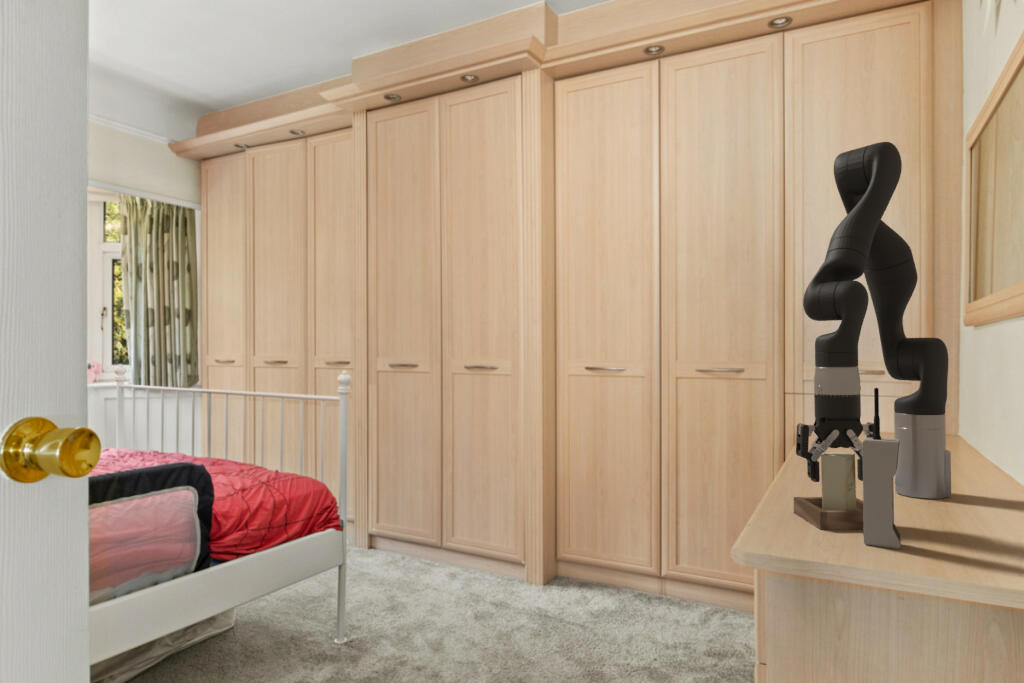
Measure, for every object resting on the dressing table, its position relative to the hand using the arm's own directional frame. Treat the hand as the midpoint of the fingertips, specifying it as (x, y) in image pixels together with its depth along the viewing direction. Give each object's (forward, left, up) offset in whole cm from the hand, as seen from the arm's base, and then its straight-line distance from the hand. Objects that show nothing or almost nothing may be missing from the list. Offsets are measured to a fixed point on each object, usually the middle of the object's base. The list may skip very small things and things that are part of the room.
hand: (838, 480), depth 118 cm
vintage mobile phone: (0, +14, -7) cm, 16 cm away
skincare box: (0, 0, -7) cm, 7 cm away
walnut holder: (0, 0, -7) cm, 7 cm away
